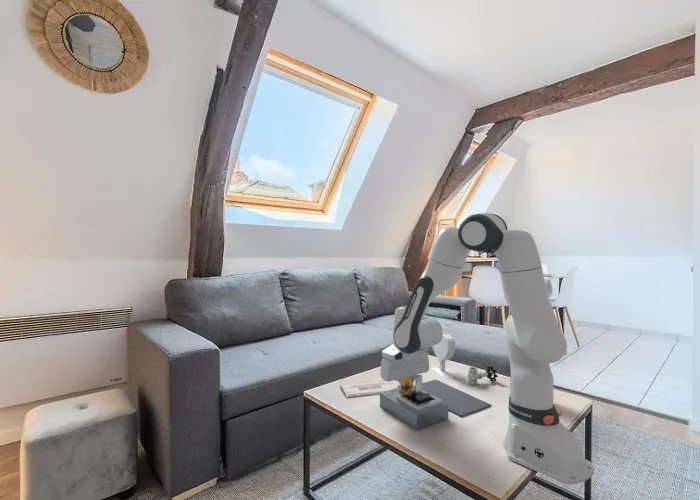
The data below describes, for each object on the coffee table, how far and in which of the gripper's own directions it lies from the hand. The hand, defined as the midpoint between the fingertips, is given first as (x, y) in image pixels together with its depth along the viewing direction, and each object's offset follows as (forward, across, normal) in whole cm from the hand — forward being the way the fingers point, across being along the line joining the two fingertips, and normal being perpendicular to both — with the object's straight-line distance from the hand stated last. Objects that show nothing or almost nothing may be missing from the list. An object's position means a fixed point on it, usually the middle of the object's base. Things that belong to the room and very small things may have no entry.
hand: (405, 388), depth 131 cm
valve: (+8, -43, -2) cm, 44 cm away
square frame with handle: (+2, 0, +5) cm, 6 cm away
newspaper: (+8, +2, -21) cm, 23 cm away
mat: (+7, -20, +1) cm, 21 cm away
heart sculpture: (+8, -38, -19) cm, 43 cm away
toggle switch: (+7, 0, +4) cm, 8 cm away
